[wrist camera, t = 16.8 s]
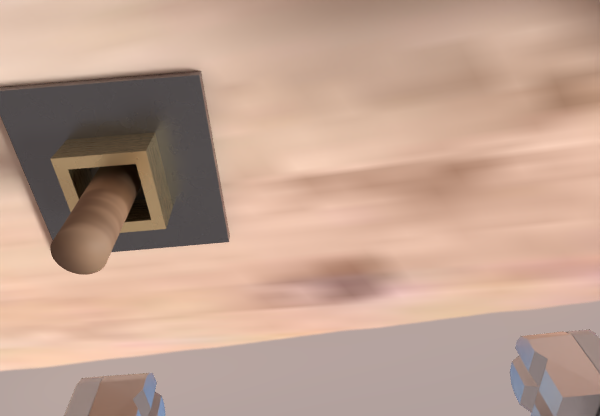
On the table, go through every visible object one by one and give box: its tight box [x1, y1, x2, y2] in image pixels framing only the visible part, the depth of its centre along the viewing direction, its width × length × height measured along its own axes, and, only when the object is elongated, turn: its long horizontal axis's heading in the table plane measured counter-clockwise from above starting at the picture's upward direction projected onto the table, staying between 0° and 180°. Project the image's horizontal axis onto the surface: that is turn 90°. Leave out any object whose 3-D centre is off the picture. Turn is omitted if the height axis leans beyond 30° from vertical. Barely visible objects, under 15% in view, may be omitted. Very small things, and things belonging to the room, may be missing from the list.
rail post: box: [51, 164, 142, 274], centre depth 37 cm, size 4×4×11 cm
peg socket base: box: [0, 71, 230, 252], centre depth 40 cm, size 16×16×4 cm
